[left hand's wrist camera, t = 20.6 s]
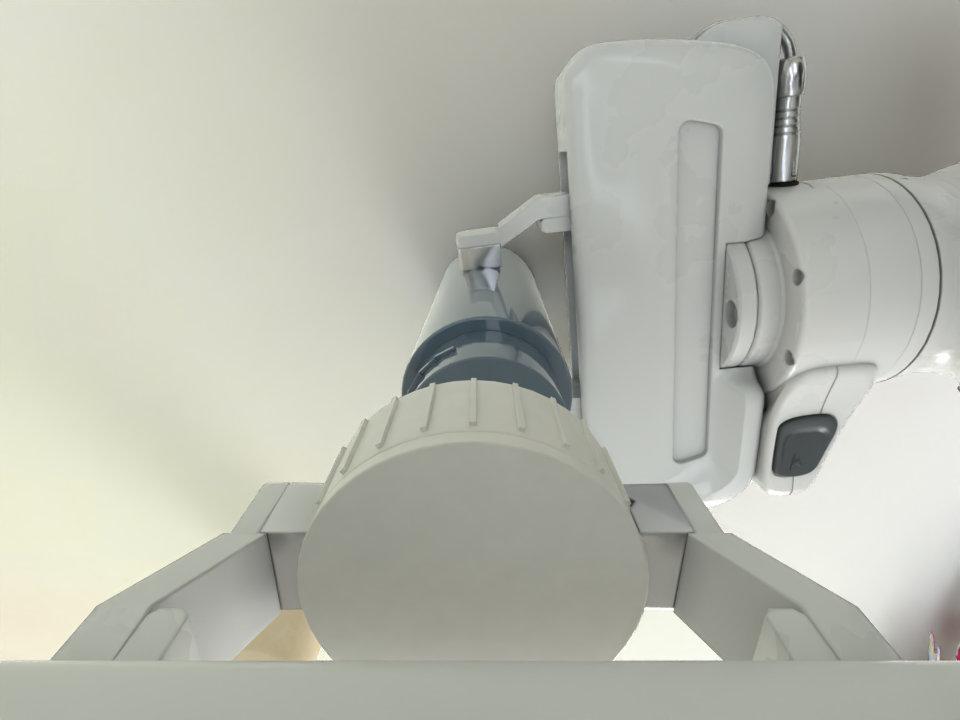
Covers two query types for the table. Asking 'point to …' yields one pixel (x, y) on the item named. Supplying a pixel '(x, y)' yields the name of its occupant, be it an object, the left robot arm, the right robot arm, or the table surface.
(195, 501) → the table surface
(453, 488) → the lid
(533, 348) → the jar
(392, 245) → the table surface
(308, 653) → the candle
